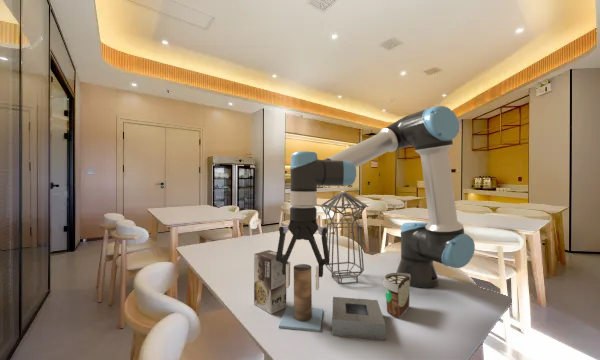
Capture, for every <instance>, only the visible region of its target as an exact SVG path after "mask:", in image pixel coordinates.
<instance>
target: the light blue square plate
mask: <svg viewBox="0 0 600 360" xmlns="http://www.w3.org/2000/svg"><path fill="white" fill-rule="evenodd" d="M284 309H285V310H284V311H283V314H282V316H281V320H280V322H279V324H278V328H279V329H285V330H299V331H307V332H308V331H309V332H319V333H321V330H322V322H323V320H322V319H323V312H324V309H323V308H316V307H312V318H311V319H310V320H308V321H298V320H296V319H295V318H294V305H292V306H290V305H286V308H284Z"/></svg>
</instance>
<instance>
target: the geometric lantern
mask: <svg viewBox="0 0 600 360" xmlns="http://www.w3.org/2000/svg"><path fill="white" fill-rule="evenodd" d="M340 200H341V205H338V204H339V202H340ZM345 201H346V202H347V203H346V204H345ZM352 206H353V207H352ZM320 207H321V209H322V211H323V212H324V214H325V217H326V227H327V233H326V238H327V244H328V251H329V258H330V256H331V263H330V262H329V264H325V265H324V267H326V269H328V271H329V272H330V273H331V279H333V280H335V282H336V283H337V284H338V285H345V284H355V283H356V284H357V283H358V282H359V279H358V276H360V275H361V274H362V273H363V272H364V271H365V266H364V265H365V264H364V254H363V241H362V228H361V227H362V225H360V215H362V214H363V211H364V210H365V209H366V208H369V207H370V206H369V205H367V204H366V203H364V202H362V201H361V200H360V199H357V198H356V197H354V196H353V195H351V194H349V193H348V192H345V191H342V192H341V191H340V192H339V193H337V194H335V195H334V196H333V197H331V198H330V199H328V200H326V201H325V202H323V203H322V204H321V205H320ZM334 209H335V210H334ZM340 209H341V210H340ZM347 209H350V210H351V213H350V214H347V211H346V210H347ZM357 209H358V210H357ZM354 210H355V211H354ZM330 211H332V212H334V213H333V216H332V217H331V215H330ZM338 213H339V214H341V215H342V217H341V219H340V220H339V221H338V222H333V221H334V217H335V215H336V214H338ZM351 216H352V217H353V220H352V222H349V221H348V219H347V218H346V217H351ZM357 216H358V218H357ZM328 218H329V220H330V222H328ZM343 218H344V219H345V221H346V222H341V221H342V220H343ZM356 219H358V220H356ZM340 224H341V225H342V224H343V225H345V224H347V226H339V225H340ZM354 225H355V226H354ZM340 228H341V229H343V228H347V261H344V262H340V256H339V255H340V253H339V230H338V229H340ZM350 228H351V236H352V237H351V238H352V239H351V240H352V252H353V253H352V255H353V262H351V261H350ZM354 228H356V237H357V249H358V258H359V259H358V260H359V265H358V264H357V263H356V253H355V236H354ZM335 230H336V233H335ZM331 231H332V233H331ZM331 234H332V235H331ZM335 234H336V254H337V255H336V257H337V262H334V245H335V242H334V241H335V240H334V239H335ZM331 236H332V238H331ZM331 239H332V241H331ZM331 245H332V246H331ZM330 251H331V255H330ZM342 264H343V265H345V264H347V269H342V270H340V265H342ZM350 264H351V265H352V266H351V268H350V269H349V265H350ZM334 265H337V270H334V269H333V268H334ZM354 266H356V267H358V268H359V271H352V269H353V268H354ZM351 274H353V275H351ZM349 275H350V276H349ZM335 277H336V278H337V279H338V280H337V279H336V278H335ZM348 278H349V279H350V278H353V280H355V281H349V282H348V281H347V282H343V279H348Z"/></svg>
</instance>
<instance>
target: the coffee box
mask: <svg viewBox="0 0 600 360" xmlns="http://www.w3.org/2000/svg"><path fill="white" fill-rule="evenodd" d="M276 255H277V251H273V250H270V249H269V250H264V251H260V252H256V253H254V254H253V304H254V306H256V307H258V308H260V309H262V310H263V311H265V312H266V313H269V314H270V315H272V314H275V313H277V312H279V311H282V310H284V309H286V307H287V288H286V275H283V273H282V263H281V262H279V261H276ZM282 256H283V257H284V256H285V253H282Z"/></svg>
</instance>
